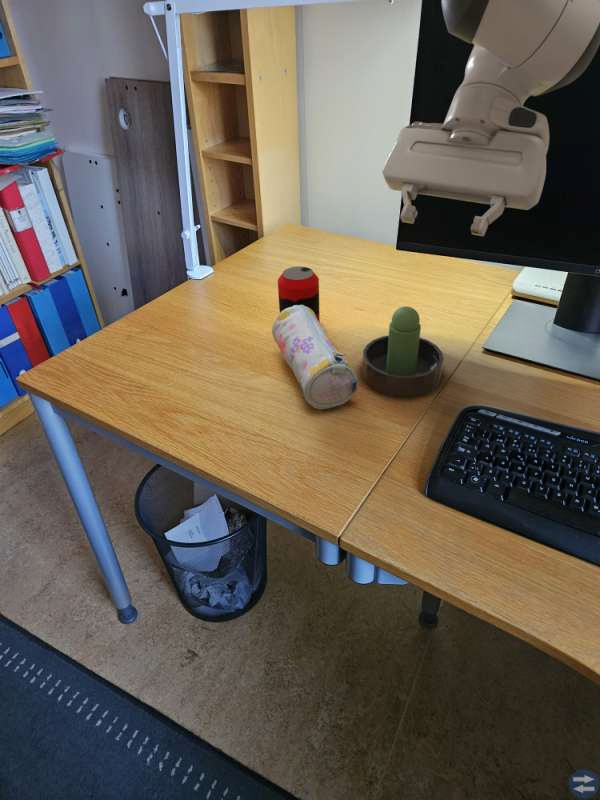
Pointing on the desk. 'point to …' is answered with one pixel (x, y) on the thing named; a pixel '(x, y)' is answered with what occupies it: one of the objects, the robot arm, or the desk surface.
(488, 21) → the robot arm
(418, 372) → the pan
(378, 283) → the desk surface
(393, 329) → the green dome-topped cylinder
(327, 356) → the pencil case
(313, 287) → the soda can
